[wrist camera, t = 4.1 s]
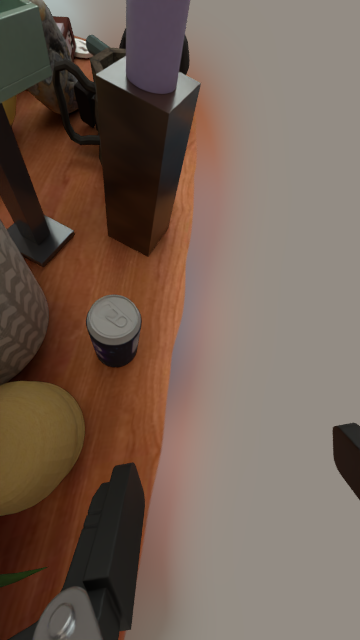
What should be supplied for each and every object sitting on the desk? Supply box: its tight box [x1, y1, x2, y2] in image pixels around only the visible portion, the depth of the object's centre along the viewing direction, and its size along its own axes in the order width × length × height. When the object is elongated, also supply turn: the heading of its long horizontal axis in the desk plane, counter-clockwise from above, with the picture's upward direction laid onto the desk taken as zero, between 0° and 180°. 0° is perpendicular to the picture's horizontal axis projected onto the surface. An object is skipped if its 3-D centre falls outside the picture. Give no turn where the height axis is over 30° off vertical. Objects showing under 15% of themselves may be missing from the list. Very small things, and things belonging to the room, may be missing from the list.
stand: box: [95, 56, 201, 256], centre depth 35 cm, size 8×8×22 cm
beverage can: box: [86, 295, 142, 367], centre depth 30 cm, size 6×6×12 cm
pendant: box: [74, 38, 93, 58], centre depth 64 cm, size 7×11×1 cm, turn 53°
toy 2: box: [74, 29, 189, 131], centre depth 55 cm, size 25×14×30 cm
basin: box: [0, 0, 75, 267], centre depth 29 cm, size 10×10×26 cm
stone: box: [27, 0, 78, 114], centre depth 45 cm, size 11×21×10 cm
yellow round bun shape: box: [0, 381, 85, 516], centre depth 25 cm, size 12×12×10 cm
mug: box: [52, 47, 126, 167], centre depth 44 cm, size 20×14×15 cm
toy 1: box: [53, 16, 76, 62], centre depth 57 cm, size 6×5×15 cm
